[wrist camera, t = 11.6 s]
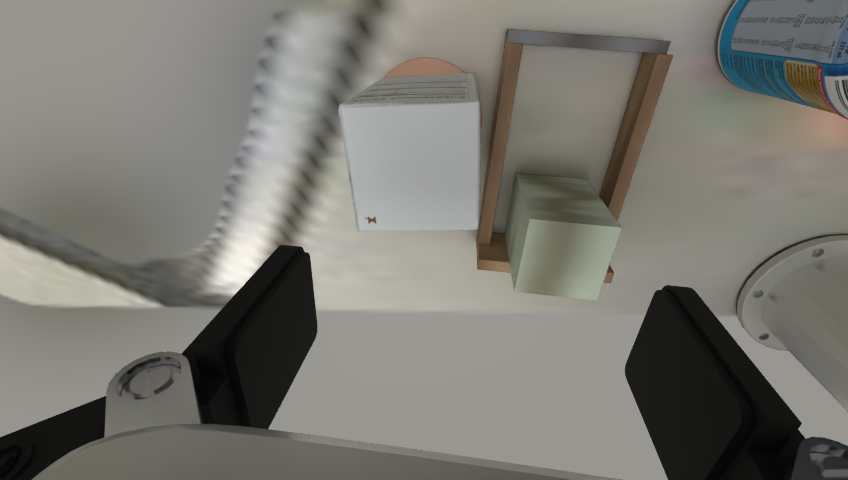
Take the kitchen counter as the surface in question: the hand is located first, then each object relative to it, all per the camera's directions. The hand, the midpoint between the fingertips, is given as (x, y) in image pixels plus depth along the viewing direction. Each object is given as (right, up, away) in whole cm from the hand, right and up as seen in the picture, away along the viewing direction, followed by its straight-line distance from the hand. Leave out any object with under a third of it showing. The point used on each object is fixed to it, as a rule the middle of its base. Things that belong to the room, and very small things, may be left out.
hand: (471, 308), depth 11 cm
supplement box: (-1, +12, +21) cm, 24 cm away
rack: (+10, +9, +22) cm, 26 cm away
